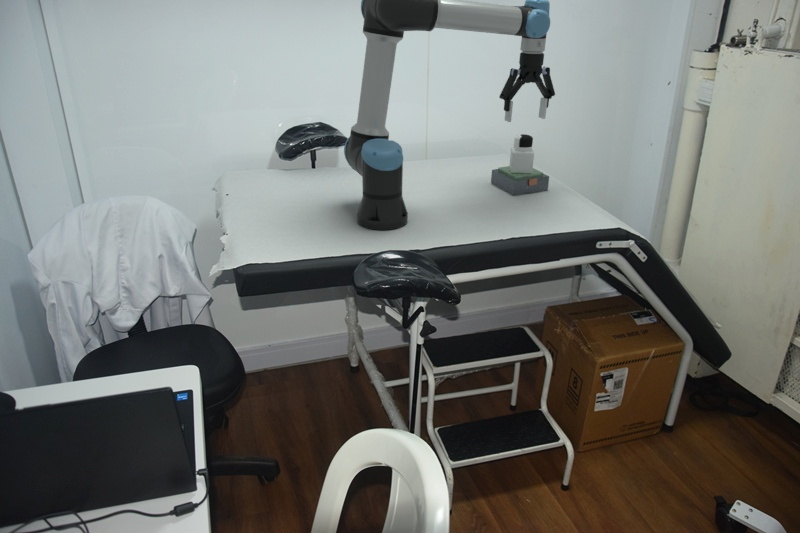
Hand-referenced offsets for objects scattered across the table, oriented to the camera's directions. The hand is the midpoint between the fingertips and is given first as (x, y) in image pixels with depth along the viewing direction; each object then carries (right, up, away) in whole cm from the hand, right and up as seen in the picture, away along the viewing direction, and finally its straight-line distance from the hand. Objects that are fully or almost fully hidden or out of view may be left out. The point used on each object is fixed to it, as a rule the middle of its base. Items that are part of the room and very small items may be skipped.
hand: (525, 119), depth 203 cm
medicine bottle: (0, -16, +8) cm, 18 cm away
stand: (0, -21, +10) cm, 23 cm away
